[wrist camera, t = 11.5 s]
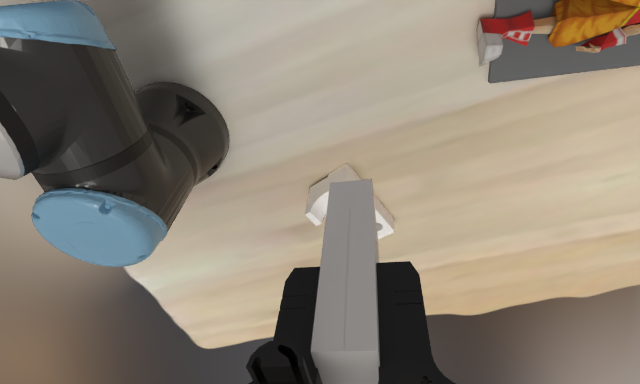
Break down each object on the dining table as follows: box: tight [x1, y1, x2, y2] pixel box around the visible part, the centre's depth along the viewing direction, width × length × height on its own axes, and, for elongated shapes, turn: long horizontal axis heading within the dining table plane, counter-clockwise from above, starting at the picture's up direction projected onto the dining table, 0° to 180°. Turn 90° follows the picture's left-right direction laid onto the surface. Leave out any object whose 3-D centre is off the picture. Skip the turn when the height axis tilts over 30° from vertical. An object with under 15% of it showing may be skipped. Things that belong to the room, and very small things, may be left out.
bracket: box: [305, 163, 395, 240], centre depth 59 cm, size 13×7×8 cm, turn 38°
